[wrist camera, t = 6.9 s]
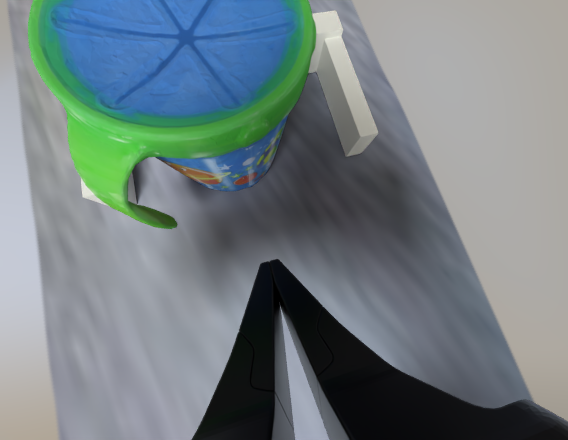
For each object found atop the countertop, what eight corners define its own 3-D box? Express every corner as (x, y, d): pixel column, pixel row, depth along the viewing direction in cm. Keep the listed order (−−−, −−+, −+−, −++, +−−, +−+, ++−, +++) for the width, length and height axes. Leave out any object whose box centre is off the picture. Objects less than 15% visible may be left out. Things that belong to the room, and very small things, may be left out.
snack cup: (232, 61, 19) (190, -152, 9) (326, 117, 19) (390, -43, 9) (120, 191, 16) (-121, 87, 6) (228, 262, 16) (154, 272, 6)
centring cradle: (361, 153, 18) (419, 85, 11) (117, 208, 16) (-8, 167, 9) (324, 51, 20) (353, -63, 13) (101, 87, 18) (-11, -27, 11)
